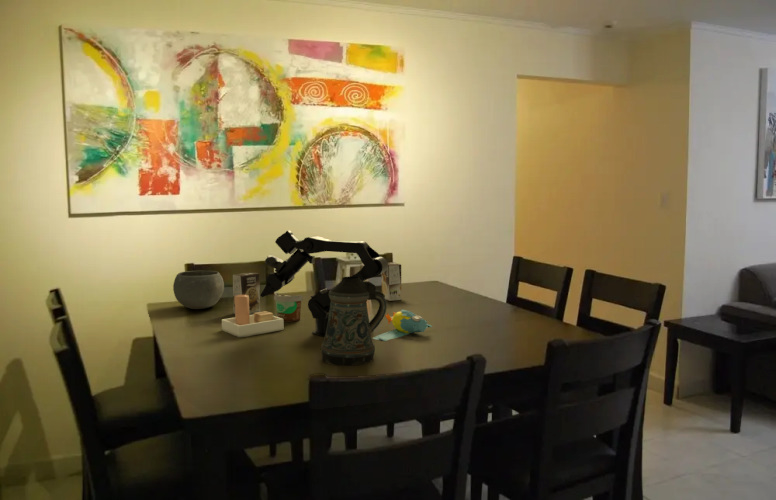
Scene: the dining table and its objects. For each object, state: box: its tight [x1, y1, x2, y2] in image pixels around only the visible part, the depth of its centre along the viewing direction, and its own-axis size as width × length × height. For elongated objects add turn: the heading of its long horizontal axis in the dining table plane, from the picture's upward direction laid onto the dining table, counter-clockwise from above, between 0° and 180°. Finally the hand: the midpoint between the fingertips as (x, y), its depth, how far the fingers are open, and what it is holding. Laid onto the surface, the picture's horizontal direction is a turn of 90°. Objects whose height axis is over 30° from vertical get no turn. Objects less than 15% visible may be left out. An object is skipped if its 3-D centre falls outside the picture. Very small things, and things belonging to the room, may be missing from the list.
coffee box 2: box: [380, 261, 402, 302], centre depth 290 cm, size 9×6×16 cm
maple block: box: [253, 310, 274, 323], centre depth 235 cm, size 5×5×5 cm
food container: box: [273, 292, 304, 323], centre depth 247 cm, size 12×6×10 cm, turn 62°
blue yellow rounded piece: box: [372, 309, 433, 342], centre depth 228 cm, size 28×9×15 cm
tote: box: [221, 314, 285, 339], centre depth 232 cm, size 14×18×4 cm
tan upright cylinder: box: [234, 295, 250, 325], centre depth 231 cm, size 5×5×12 cm
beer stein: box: [320, 275, 388, 367], centre depth 196 cm, size 16×19×25 cm
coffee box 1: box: [232, 272, 261, 315], centre depth 261 cm, size 9×6×16 cm
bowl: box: [172, 270, 225, 310], centre depth 270 cm, size 20×20×15 cm
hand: (265, 293), depth 230 cm, fingers open, 9 cm apart
